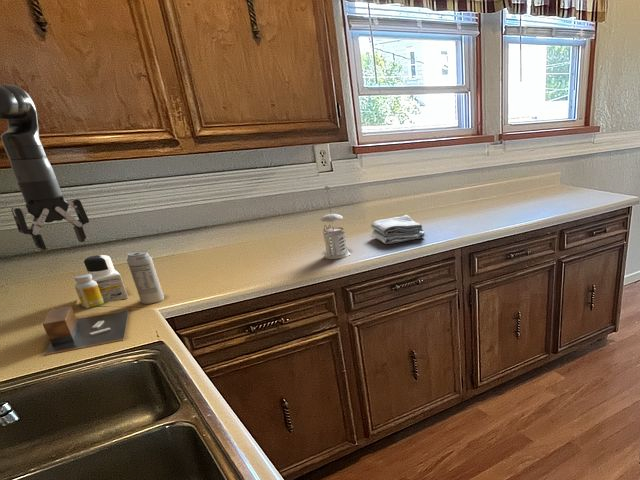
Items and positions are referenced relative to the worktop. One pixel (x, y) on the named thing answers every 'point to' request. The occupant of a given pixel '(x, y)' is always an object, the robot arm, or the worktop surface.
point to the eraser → (61, 325)
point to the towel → (396, 229)
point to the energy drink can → (145, 277)
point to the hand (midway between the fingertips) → (63, 245)
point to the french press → (334, 236)
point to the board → (83, 337)
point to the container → (106, 277)
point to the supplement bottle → (88, 291)
